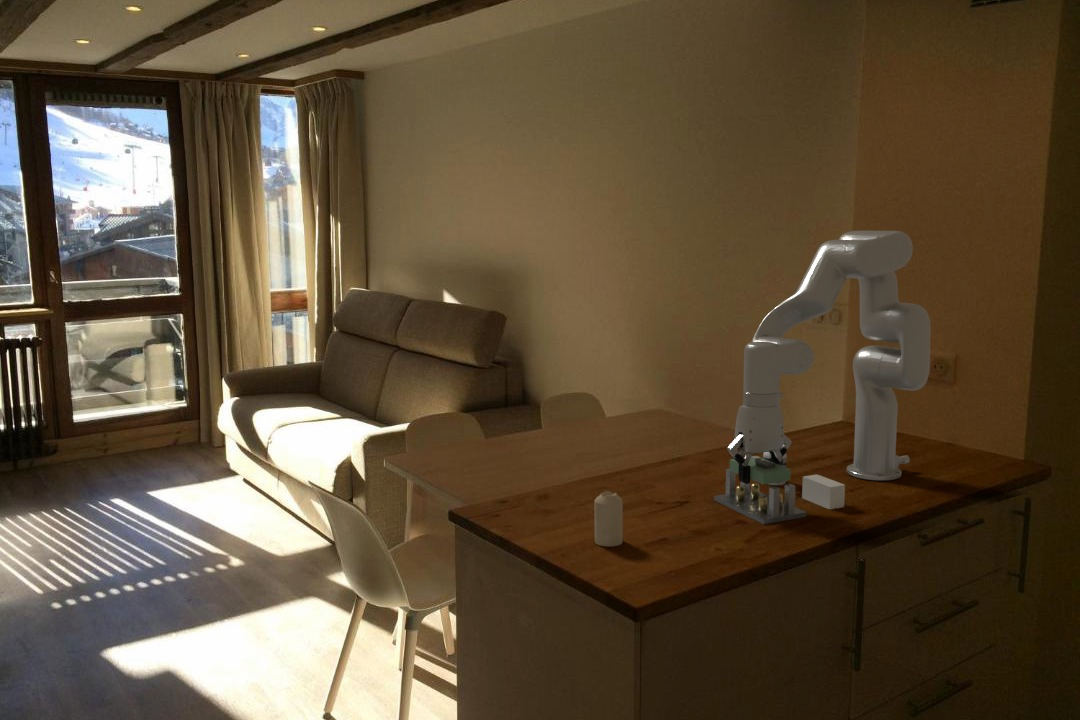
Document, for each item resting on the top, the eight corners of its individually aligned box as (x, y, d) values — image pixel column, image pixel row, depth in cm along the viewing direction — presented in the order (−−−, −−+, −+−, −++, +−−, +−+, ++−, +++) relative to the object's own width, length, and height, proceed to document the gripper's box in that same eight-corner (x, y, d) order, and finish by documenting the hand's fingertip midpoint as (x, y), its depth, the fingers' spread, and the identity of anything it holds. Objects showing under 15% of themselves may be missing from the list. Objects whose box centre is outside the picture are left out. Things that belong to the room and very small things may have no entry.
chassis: (754, 493, 207) (754, 464, 205) (806, 516, 190) (807, 484, 189) (713, 500, 202) (714, 470, 201) (763, 524, 186) (764, 491, 185)
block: (816, 495, 204) (816, 474, 203) (844, 506, 196) (844, 484, 195) (802, 498, 203) (802, 476, 202) (829, 509, 194) (830, 487, 194)
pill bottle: (786, 486, 212) (787, 446, 210) (763, 485, 213) (764, 445, 211) (785, 479, 217) (786, 440, 215) (762, 479, 218) (763, 439, 216)
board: (755, 466, 202) (755, 452, 201) (790, 480, 191) (790, 465, 190) (729, 470, 199) (729, 455, 199) (763, 484, 188) (763, 469, 188)
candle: (592, 537, 180) (592, 489, 178) (620, 536, 180) (619, 488, 179) (596, 547, 174) (596, 498, 173) (624, 546, 175) (624, 496, 173)
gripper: (782, 393, 199) (780, 471, 202) (716, 400, 192) (715, 480, 195) (805, 399, 192) (802, 479, 195) (737, 406, 186) (735, 489, 188)
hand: (758, 479), depth 195 cm, fingers closed on board, 7 cm apart
